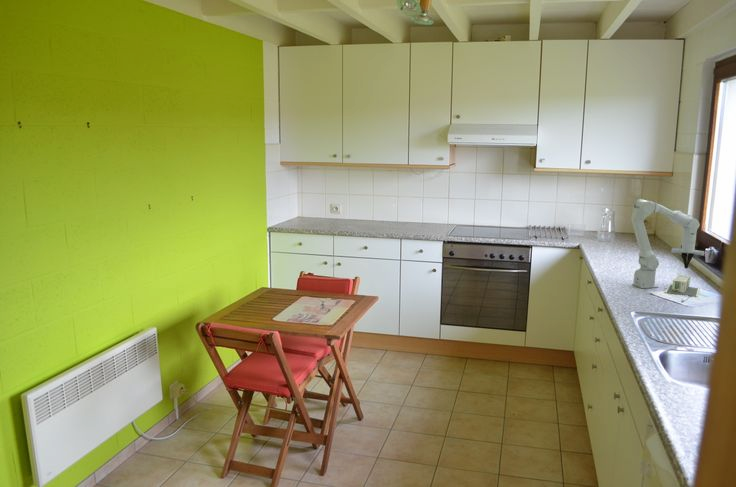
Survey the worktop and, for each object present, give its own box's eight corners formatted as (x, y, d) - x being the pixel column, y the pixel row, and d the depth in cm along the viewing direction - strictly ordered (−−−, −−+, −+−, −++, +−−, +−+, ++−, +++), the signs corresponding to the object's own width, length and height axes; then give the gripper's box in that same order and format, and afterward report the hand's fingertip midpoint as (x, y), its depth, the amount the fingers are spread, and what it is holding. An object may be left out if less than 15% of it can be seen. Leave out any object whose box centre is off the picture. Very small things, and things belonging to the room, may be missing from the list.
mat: (697, 297, 278) (697, 296, 278) (664, 292, 285) (664, 292, 285) (699, 288, 293) (699, 288, 293) (668, 285, 300) (668, 284, 300)
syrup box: (678, 274, 298) (672, 279, 287) (691, 275, 294) (685, 281, 283) (677, 284, 299) (670, 290, 288) (690, 286, 295) (684, 292, 284)
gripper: (705, 241, 293) (703, 268, 296) (673, 238, 301) (670, 264, 303) (705, 243, 287) (702, 270, 290) (672, 241, 295) (669, 267, 298)
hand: (686, 268), depth 296 cm, fingers closed
